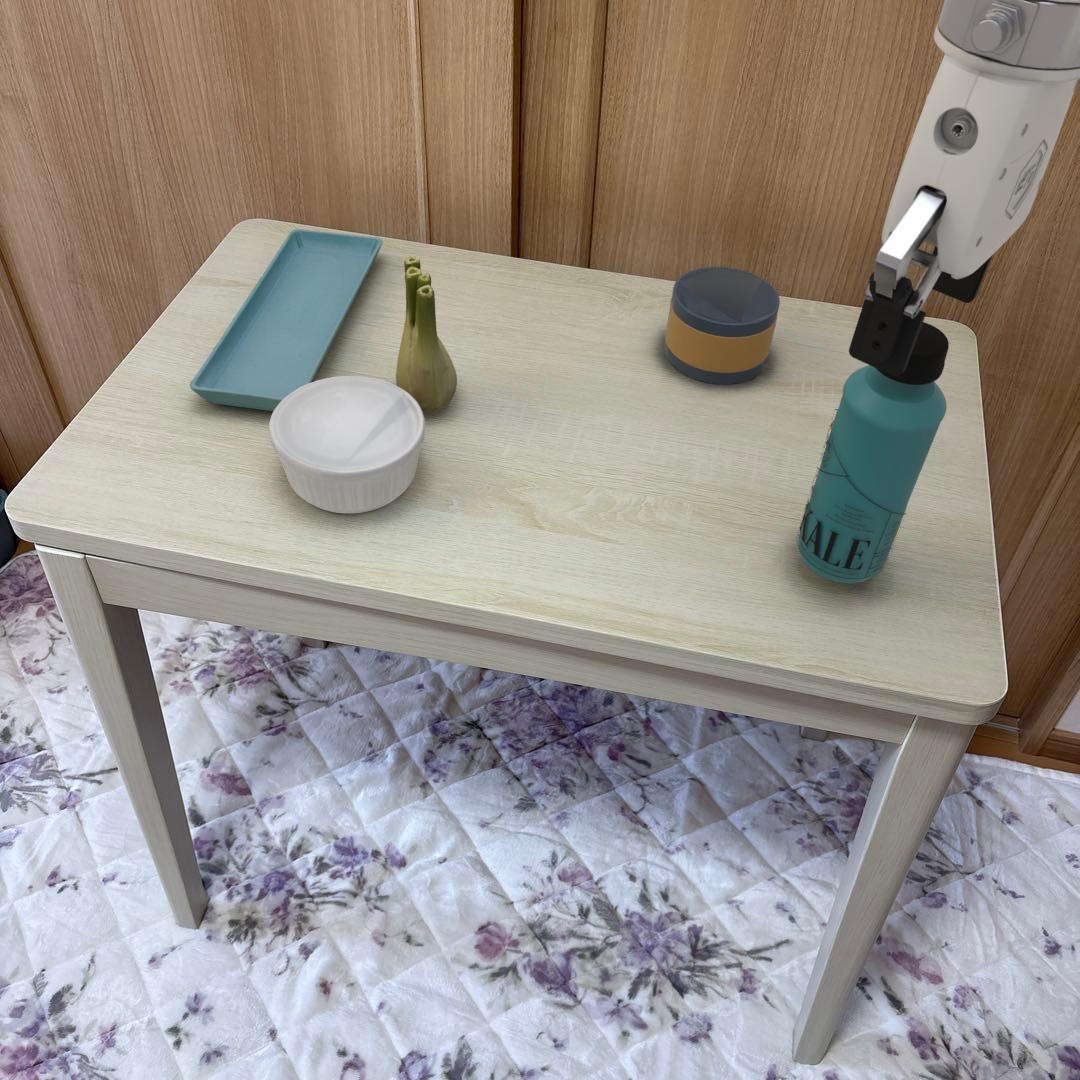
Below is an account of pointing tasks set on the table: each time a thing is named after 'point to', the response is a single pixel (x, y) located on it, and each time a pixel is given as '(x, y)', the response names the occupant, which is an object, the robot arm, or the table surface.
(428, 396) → the fennel bulb
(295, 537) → the table surface
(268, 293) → the shallow long dish
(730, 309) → the tin can
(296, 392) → the ramekin
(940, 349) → the beverage bottle
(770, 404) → the table surface
